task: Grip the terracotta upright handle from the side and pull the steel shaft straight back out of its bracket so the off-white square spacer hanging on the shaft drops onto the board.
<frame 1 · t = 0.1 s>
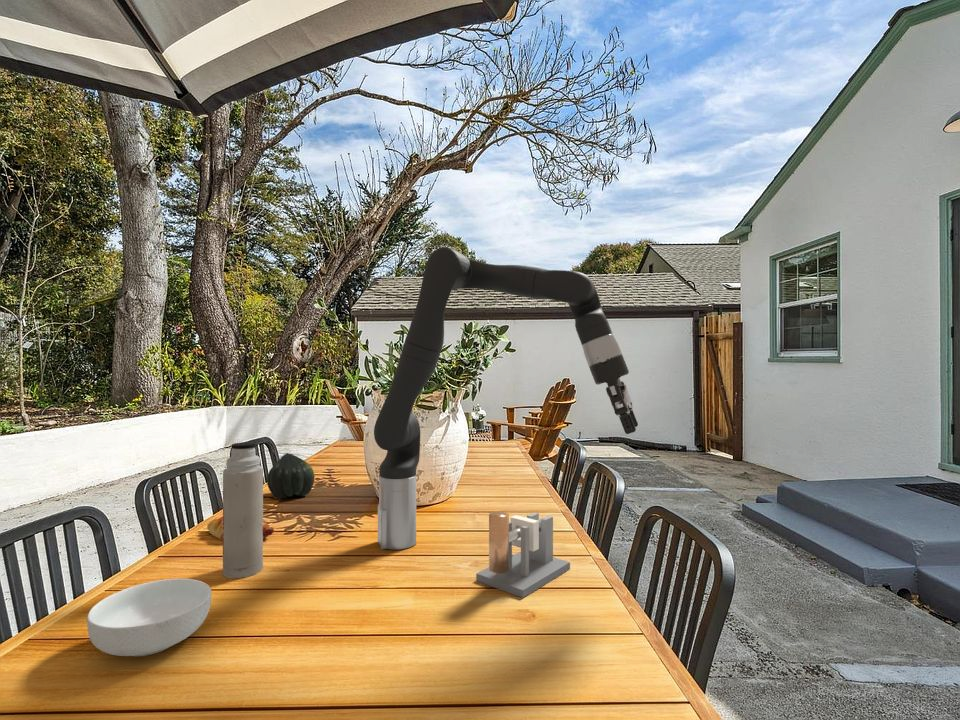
hand: (632, 430, 108), 31 cm above the table, tool tilted 20°, fingers open, 8 cm apart
cereal bowl: (152, 644, 82), on the table
shaft: (520, 532, 108), point 10 cm above the table, slide at 0.0 cm, touching spacer
shaft bracket: (510, 582, 105), on the table
squash: (290, 496, 172), on the table
spacer: (524, 546, 109), point 6 cm above the table, touching shaft
croissant: (240, 536, 133), on the table
thermos bottle: (243, 571, 110), on the table
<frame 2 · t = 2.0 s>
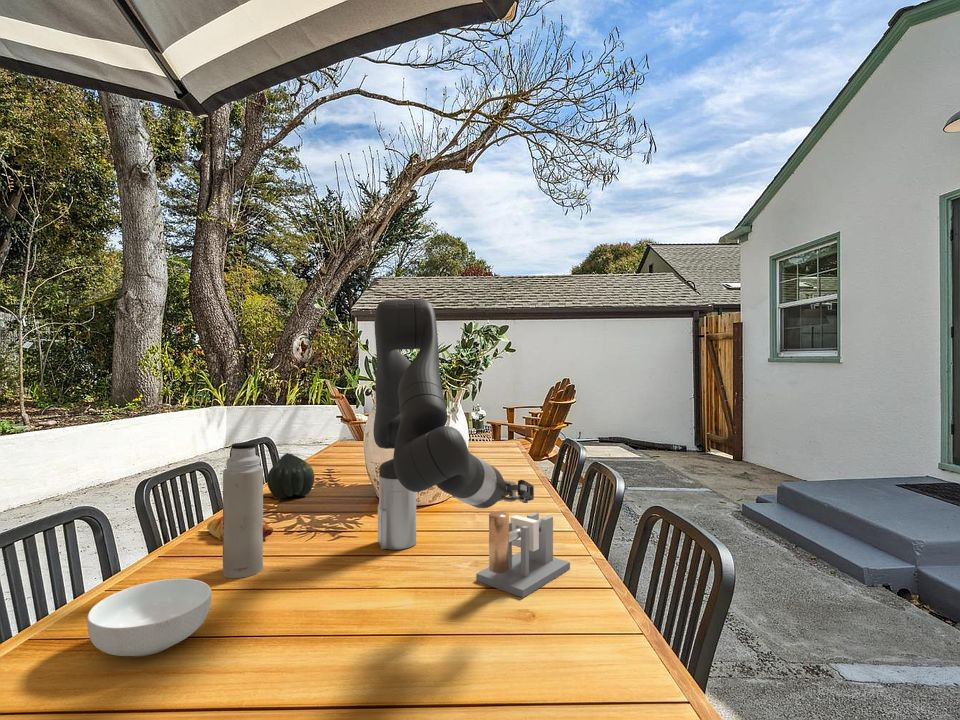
hand: (505, 497, 98), 19 cm above the table, tool tilted 65°, fingers open, 8 cm apart
nothing on the table moved.
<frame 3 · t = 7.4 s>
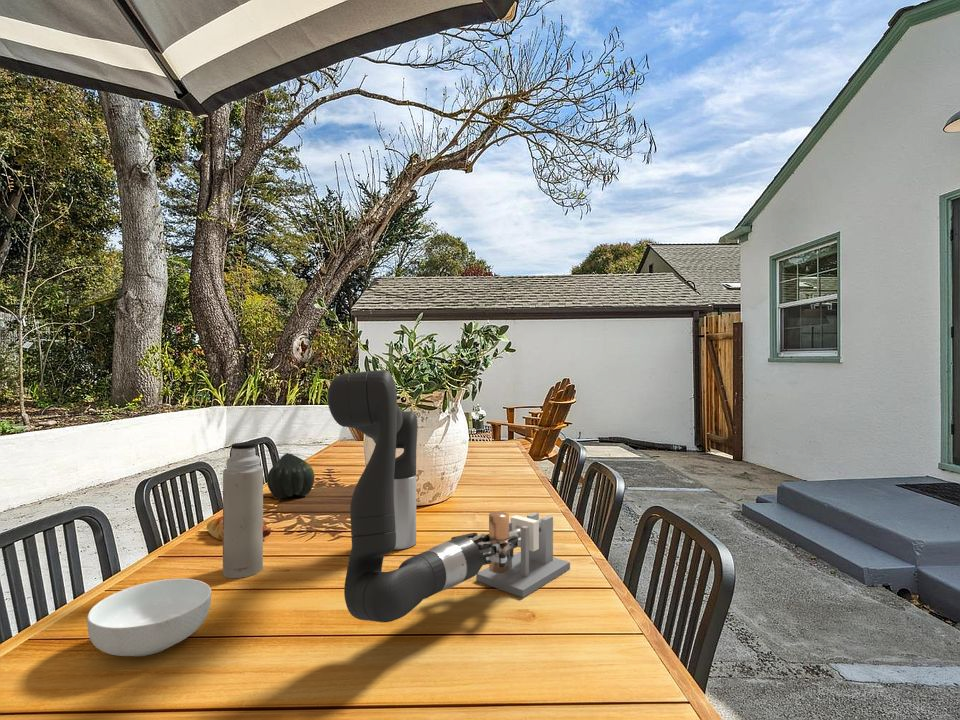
hand: (506, 538, 104), 10 cm above the table, tool horizontal, fingers closed on shaft, 4 cm apart
shaft: (520, 532, 108), point 10 cm above the table, slide at 0.0 cm, touching gripper, spacer
everything else where it was.
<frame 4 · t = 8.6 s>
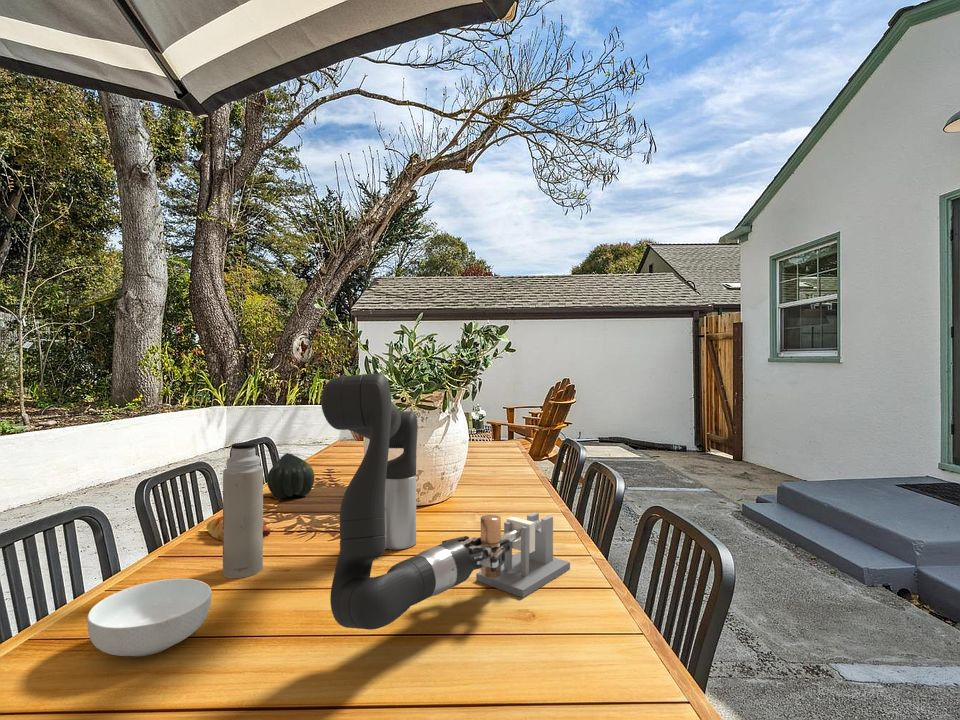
hand: (499, 541, 102), 10 cm above the table, tool horizontal, fingers closed on shaft, 4 cm apart
shaft: (513, 535, 106), point 10 cm above the table, slide at 2.6 cm, touching gripper
spacer: (520, 548, 108), point 6 cm above the table
everything else where it was.
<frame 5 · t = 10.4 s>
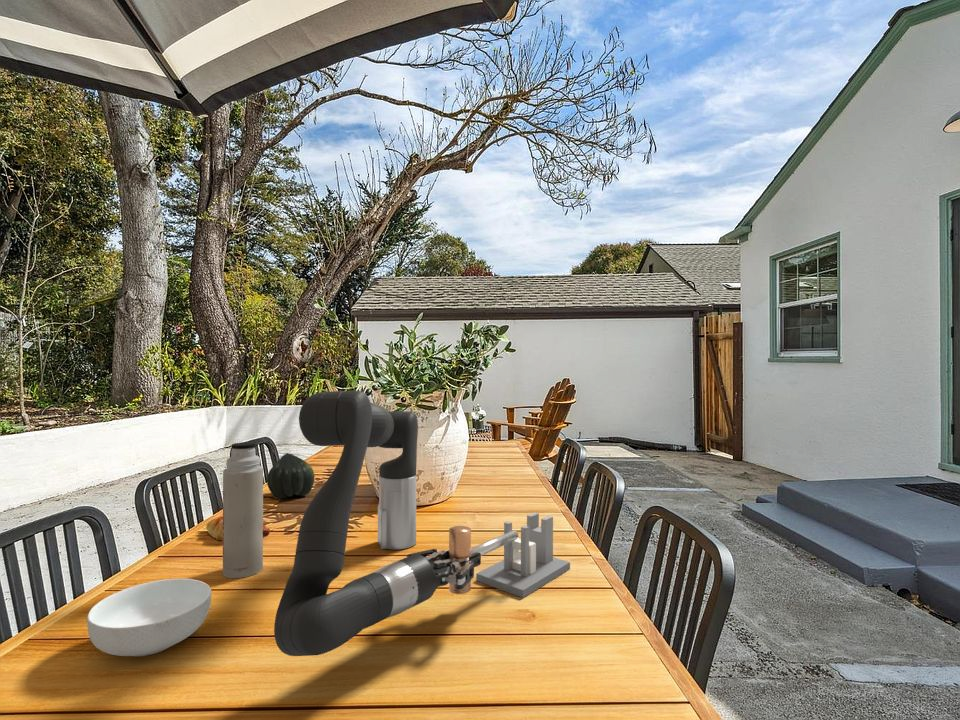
hand: (469, 554, 95), 10 cm above the table, tool horizontal, fingers closed on shaft, 4 cm apart
shaft: (485, 547, 99), point 10 cm above the table, slide at 11.7 cm, touching gripper
spacer: (521, 569, 108), point 1 cm above the table, touching shaft bracket
everything else where it was.
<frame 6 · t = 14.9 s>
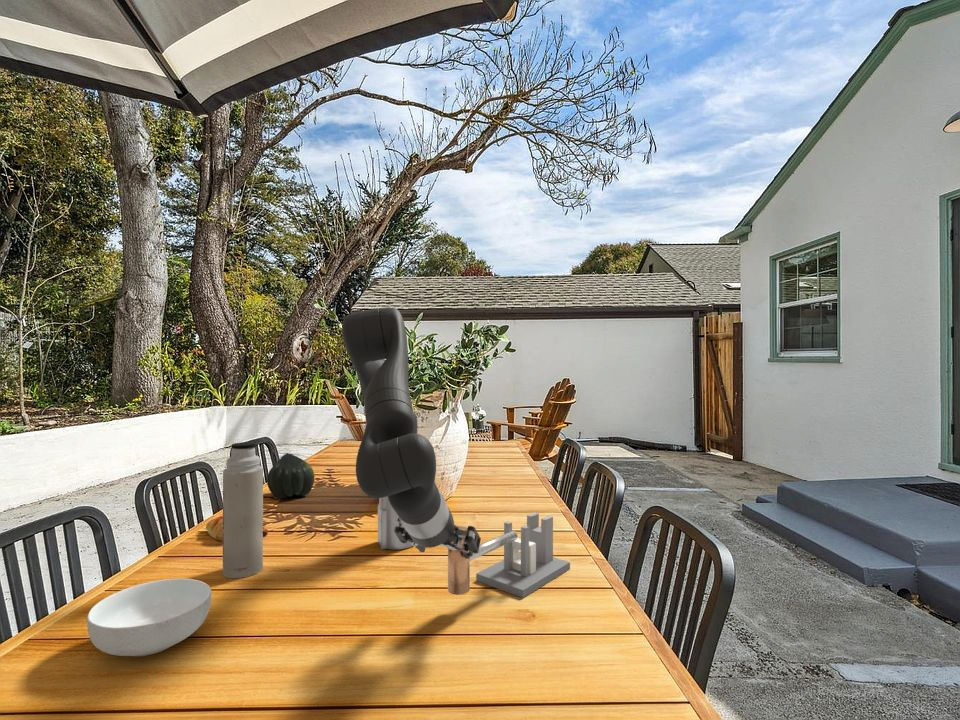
hand: (445, 550, 92), 12 cm above the table, tool tilted 50°, fingers open, 8 cm apart
shaft: (484, 548, 98), point 10 cm above the table, slide at 12.0 cm, touching gripper
everything else where it was.
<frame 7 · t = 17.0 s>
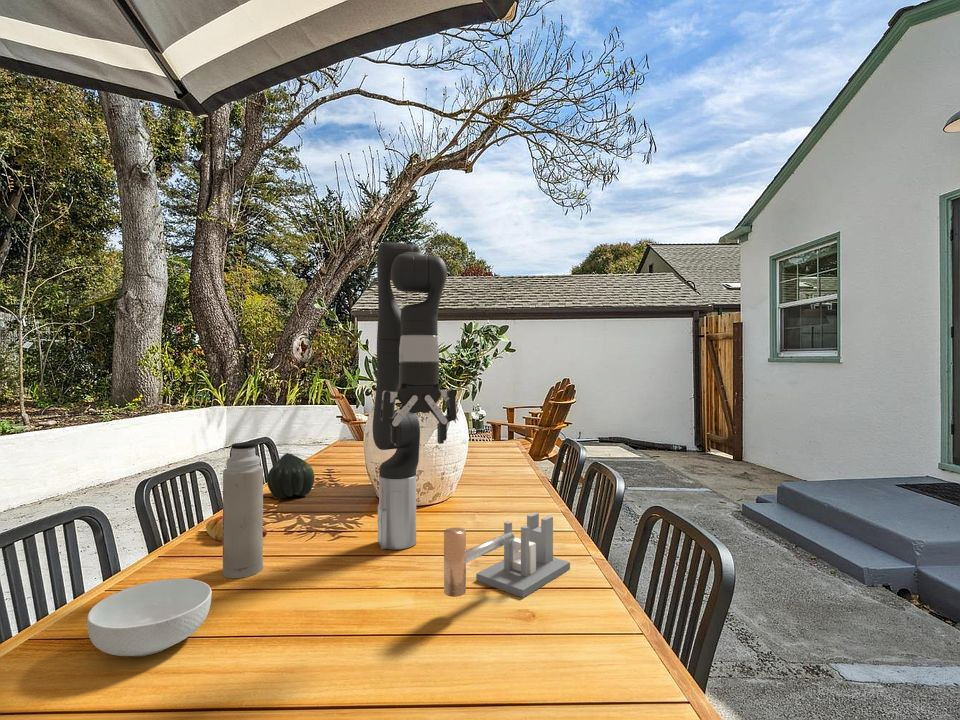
hand: (418, 444, 96), 30 cm above the table, tool pointing down, fingers open, 8 cm apart
shaft: (481, 549, 98), point 10 cm above the table, slide at 13.0 cm
at the end: shaft slide at 13.0 cm; spacer point 1.5 cm above the table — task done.
